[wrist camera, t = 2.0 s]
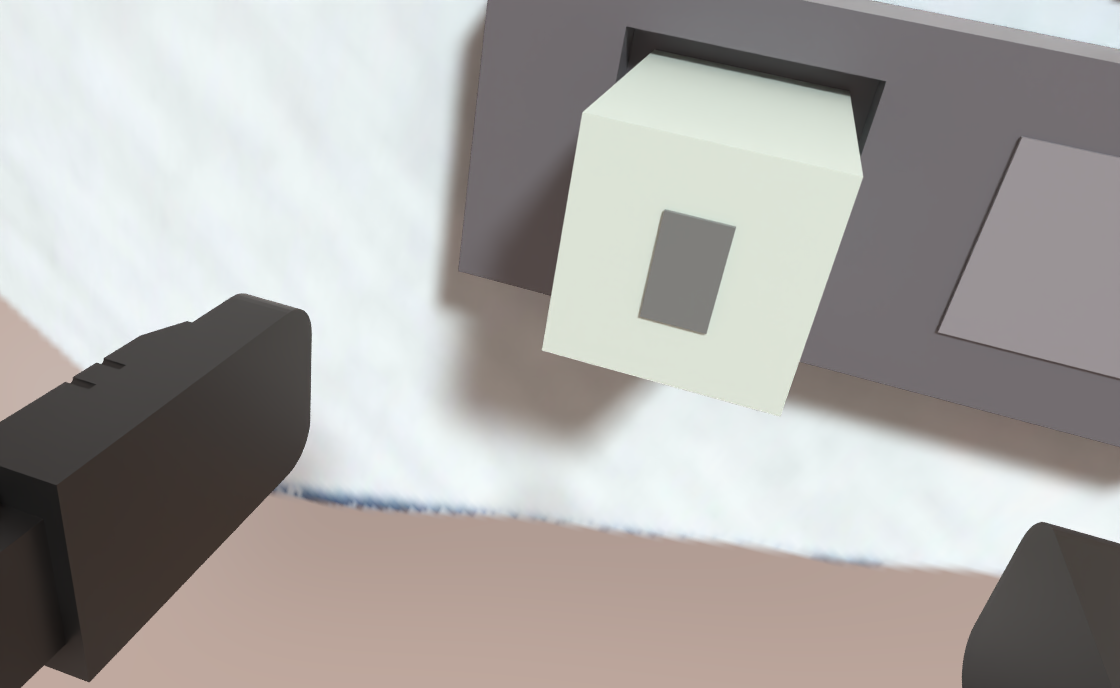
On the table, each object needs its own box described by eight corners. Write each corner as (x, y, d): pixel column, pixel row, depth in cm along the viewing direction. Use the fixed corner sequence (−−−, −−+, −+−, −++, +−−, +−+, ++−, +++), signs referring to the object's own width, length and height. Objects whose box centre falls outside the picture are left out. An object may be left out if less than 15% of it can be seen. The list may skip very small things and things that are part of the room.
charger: (618, 228, 22) (540, 352, 16) (654, 49, 20) (581, 113, 14) (791, 272, 21) (779, 418, 15) (849, 91, 19) (863, 178, 13)
